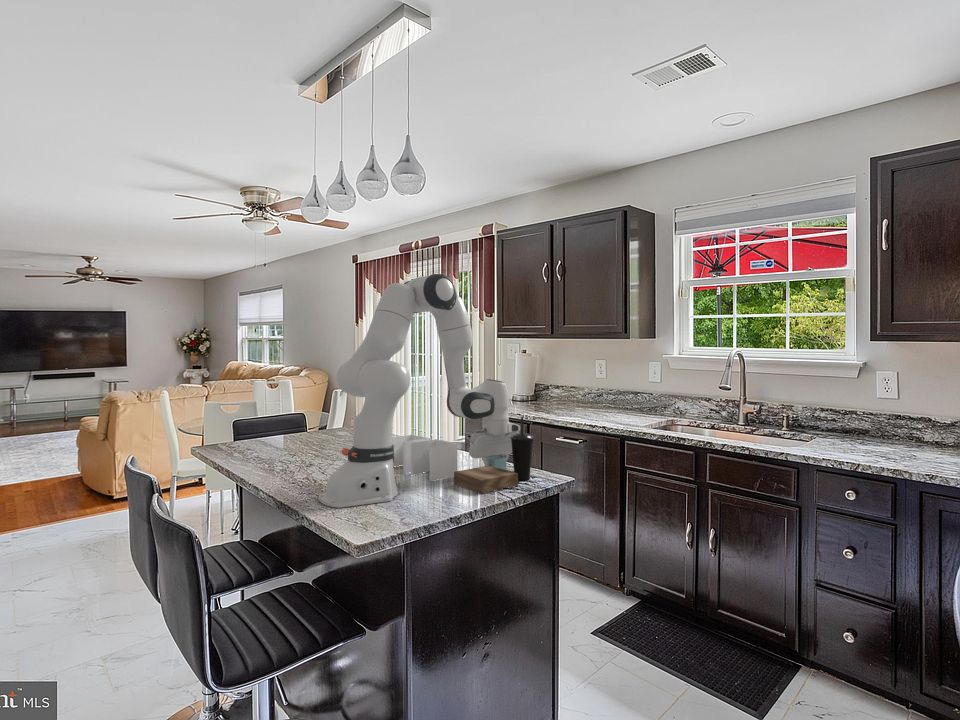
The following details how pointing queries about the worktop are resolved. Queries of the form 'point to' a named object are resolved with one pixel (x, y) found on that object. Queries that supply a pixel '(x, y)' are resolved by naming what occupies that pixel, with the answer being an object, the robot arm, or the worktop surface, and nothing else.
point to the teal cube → (498, 462)
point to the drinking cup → (522, 453)
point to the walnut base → (485, 479)
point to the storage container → (425, 456)
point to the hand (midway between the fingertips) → (495, 468)
